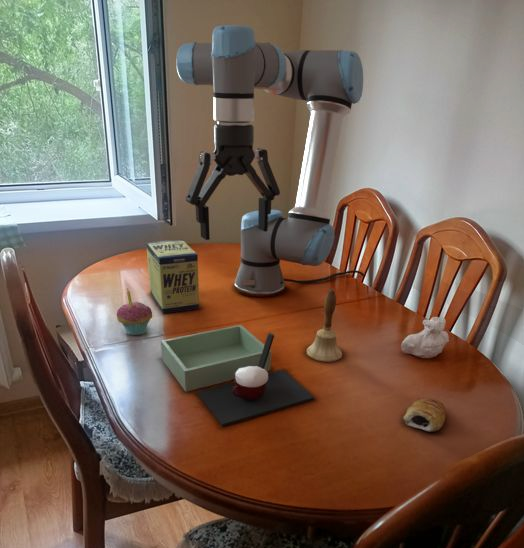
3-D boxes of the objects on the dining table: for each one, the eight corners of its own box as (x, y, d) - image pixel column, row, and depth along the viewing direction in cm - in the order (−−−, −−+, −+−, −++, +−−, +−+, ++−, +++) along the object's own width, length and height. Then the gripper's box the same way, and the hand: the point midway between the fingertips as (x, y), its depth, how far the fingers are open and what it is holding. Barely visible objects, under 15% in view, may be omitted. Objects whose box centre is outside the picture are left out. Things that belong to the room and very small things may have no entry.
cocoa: (234, 408, 94) (235, 352, 88) (225, 390, 99) (224, 337, 93) (280, 399, 97) (283, 345, 91) (268, 383, 102) (271, 330, 96)
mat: (283, 371, 107) (283, 369, 107) (313, 399, 98) (314, 397, 98) (197, 393, 98) (197, 391, 98) (222, 426, 89) (222, 424, 89)
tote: (240, 342, 119) (240, 324, 116) (270, 370, 108) (271, 351, 105) (162, 359, 110) (160, 340, 108) (185, 391, 99) (184, 371, 97)
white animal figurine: (400, 366, 115) (425, 346, 105) (390, 337, 118) (413, 315, 108) (444, 360, 119) (471, 340, 109) (433, 332, 121) (459, 310, 111)
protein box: (162, 314, 132) (158, 258, 124) (149, 293, 144) (145, 241, 137) (200, 309, 135) (198, 254, 128) (184, 289, 148) (181, 238, 140)
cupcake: (144, 340, 118) (140, 293, 112) (112, 336, 119) (106, 289, 114) (158, 325, 125) (155, 281, 120) (127, 321, 127) (122, 277, 121)
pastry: (417, 401, 99) (421, 385, 97) (451, 413, 95) (456, 397, 93) (400, 424, 92) (404, 407, 90) (436, 438, 88) (441, 421, 87)
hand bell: (345, 348, 117) (352, 285, 110) (338, 364, 111) (346, 299, 103) (311, 342, 120) (316, 280, 112) (302, 358, 113) (307, 293, 105)
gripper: (279, 120, 101) (276, 222, 112) (164, 123, 90) (172, 236, 101) (299, 123, 96) (294, 231, 106) (179, 127, 85) (186, 247, 95)
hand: (234, 234), depth 104 cm, fingers open, 13 cm apart
